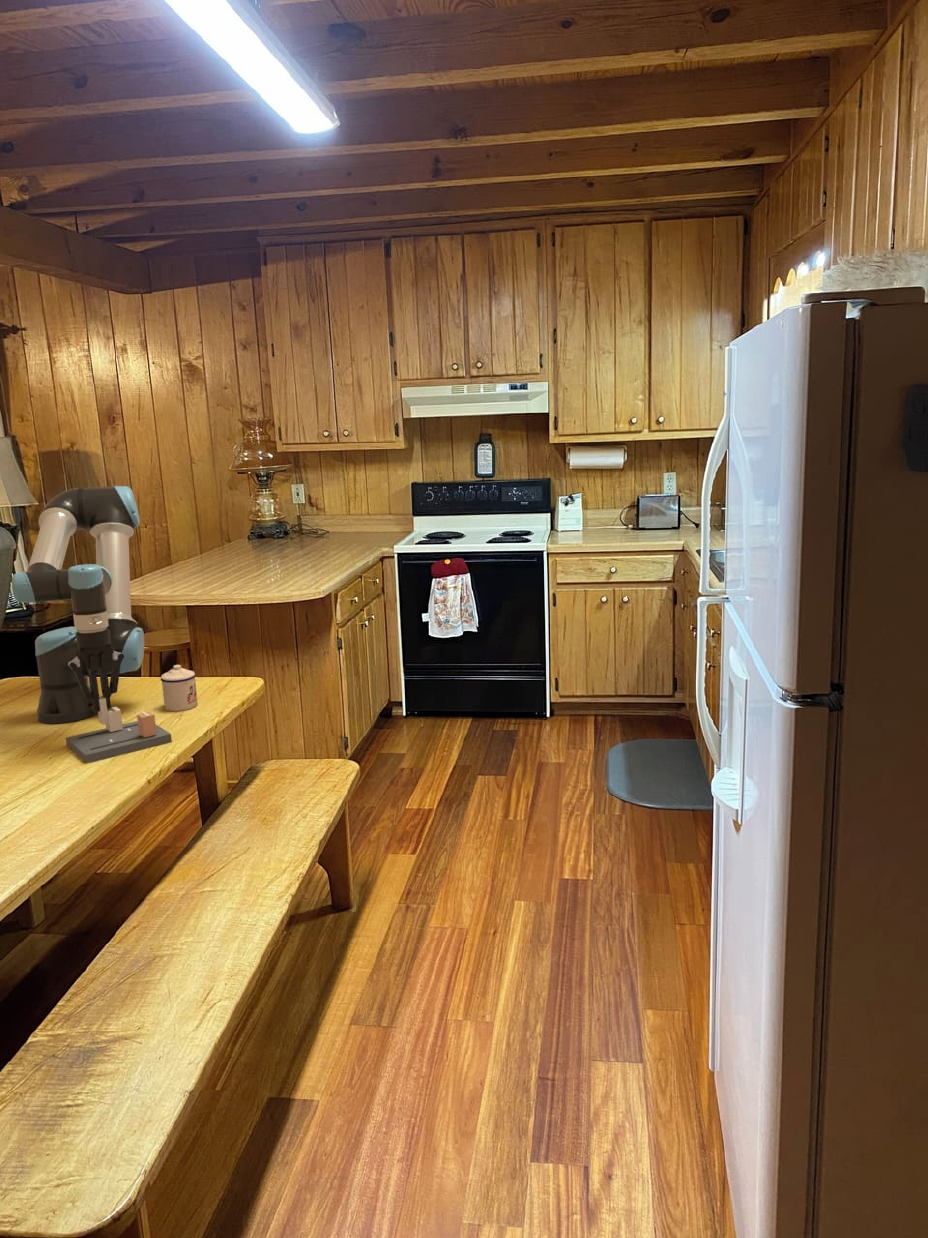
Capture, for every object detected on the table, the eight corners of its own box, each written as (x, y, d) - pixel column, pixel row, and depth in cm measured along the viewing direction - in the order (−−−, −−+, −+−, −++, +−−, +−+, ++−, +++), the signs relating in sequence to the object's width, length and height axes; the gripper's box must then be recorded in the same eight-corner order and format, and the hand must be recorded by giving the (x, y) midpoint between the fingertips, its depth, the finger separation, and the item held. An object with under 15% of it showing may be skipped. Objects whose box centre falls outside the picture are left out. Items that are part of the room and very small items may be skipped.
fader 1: (105, 728, 222) (103, 708, 221) (118, 725, 224) (115, 705, 223) (110, 732, 219) (108, 711, 218) (123, 729, 221) (120, 709, 220)
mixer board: (66, 745, 218) (65, 737, 218) (148, 726, 230) (147, 718, 230) (86, 763, 206) (85, 754, 205) (171, 741, 218) (170, 733, 218)
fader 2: (139, 733, 217) (136, 713, 216) (151, 731, 219) (149, 710, 218) (144, 737, 215) (142, 717, 214) (156, 734, 217) (154, 714, 215)
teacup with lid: (195, 710, 241) (191, 669, 239) (160, 713, 240) (156, 671, 238) (202, 697, 253) (198, 657, 251) (169, 699, 252) (165, 659, 250)
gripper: (68, 636, 208) (81, 733, 213) (124, 627, 216) (135, 720, 221) (59, 631, 214) (72, 725, 219) (114, 622, 222) (125, 713, 227)
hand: (104, 723), depth 220 cm, fingers closed
